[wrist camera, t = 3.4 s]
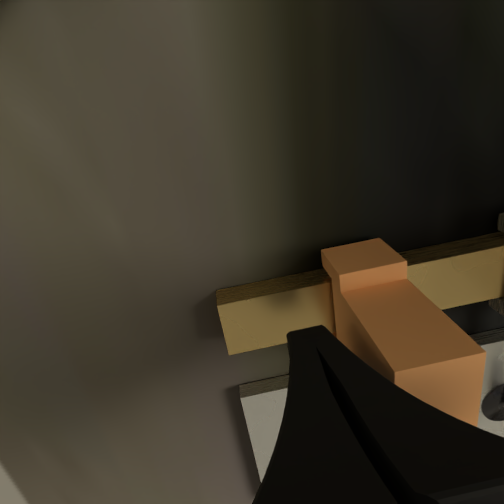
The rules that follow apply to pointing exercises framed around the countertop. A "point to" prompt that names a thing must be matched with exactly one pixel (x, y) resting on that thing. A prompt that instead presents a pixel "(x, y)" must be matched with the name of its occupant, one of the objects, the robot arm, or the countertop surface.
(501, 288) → the rail
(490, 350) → the bolt plate
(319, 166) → the countertop surface
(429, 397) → the slider leg
